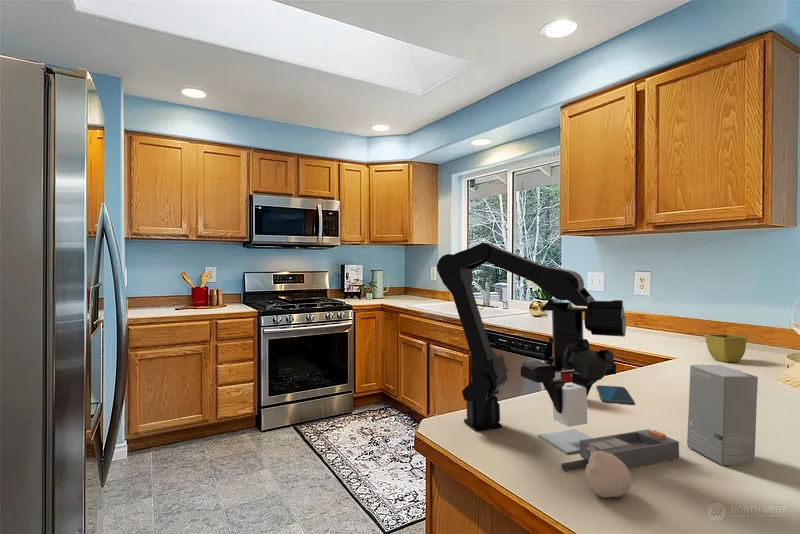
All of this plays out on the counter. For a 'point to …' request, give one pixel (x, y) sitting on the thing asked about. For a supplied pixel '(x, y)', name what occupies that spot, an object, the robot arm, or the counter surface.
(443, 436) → the counter surface
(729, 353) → the flower pot
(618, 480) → the garlic bulb
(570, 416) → the block
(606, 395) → the smartphone
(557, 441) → the mat
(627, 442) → the power strip
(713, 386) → the skincare box
